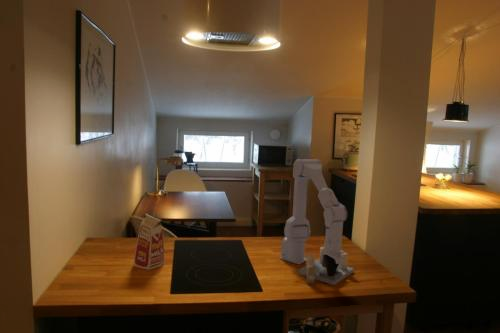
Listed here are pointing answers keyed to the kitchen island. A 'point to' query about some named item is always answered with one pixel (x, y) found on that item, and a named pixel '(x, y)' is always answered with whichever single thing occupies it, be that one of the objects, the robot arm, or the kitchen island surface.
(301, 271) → the board
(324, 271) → the bar
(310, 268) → the leg peg
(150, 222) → the milk carton
